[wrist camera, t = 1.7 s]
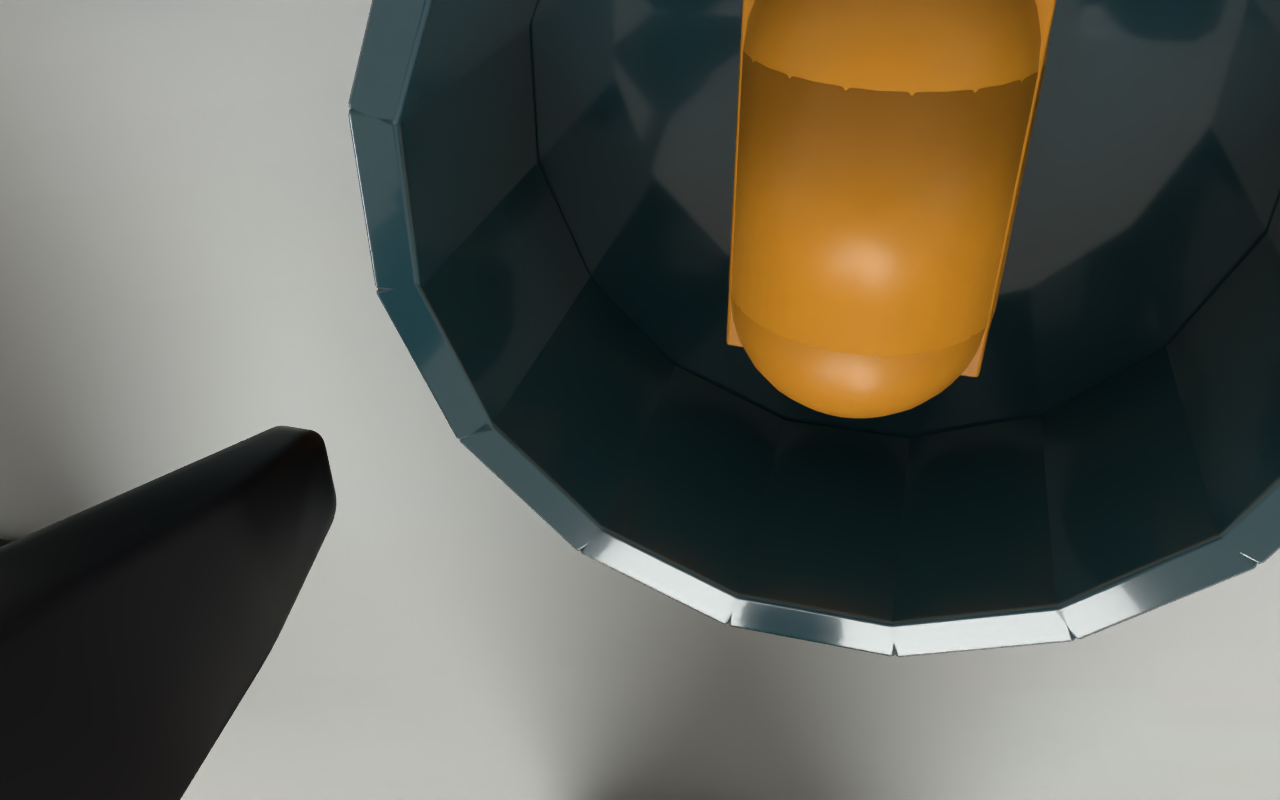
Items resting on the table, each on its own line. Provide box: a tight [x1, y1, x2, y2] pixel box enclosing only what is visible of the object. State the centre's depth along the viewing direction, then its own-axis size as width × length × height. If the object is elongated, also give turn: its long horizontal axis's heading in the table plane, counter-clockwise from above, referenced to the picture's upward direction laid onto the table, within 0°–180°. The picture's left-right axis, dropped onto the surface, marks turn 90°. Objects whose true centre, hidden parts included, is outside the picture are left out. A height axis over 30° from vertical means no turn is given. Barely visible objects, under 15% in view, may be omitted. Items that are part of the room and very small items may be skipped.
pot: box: [349, 0, 1280, 657], centre depth 17 cm, size 15×15×6 cm
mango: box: [726, 0, 1056, 418], centre depth 17 cm, size 8×4×5 cm, turn 0°
